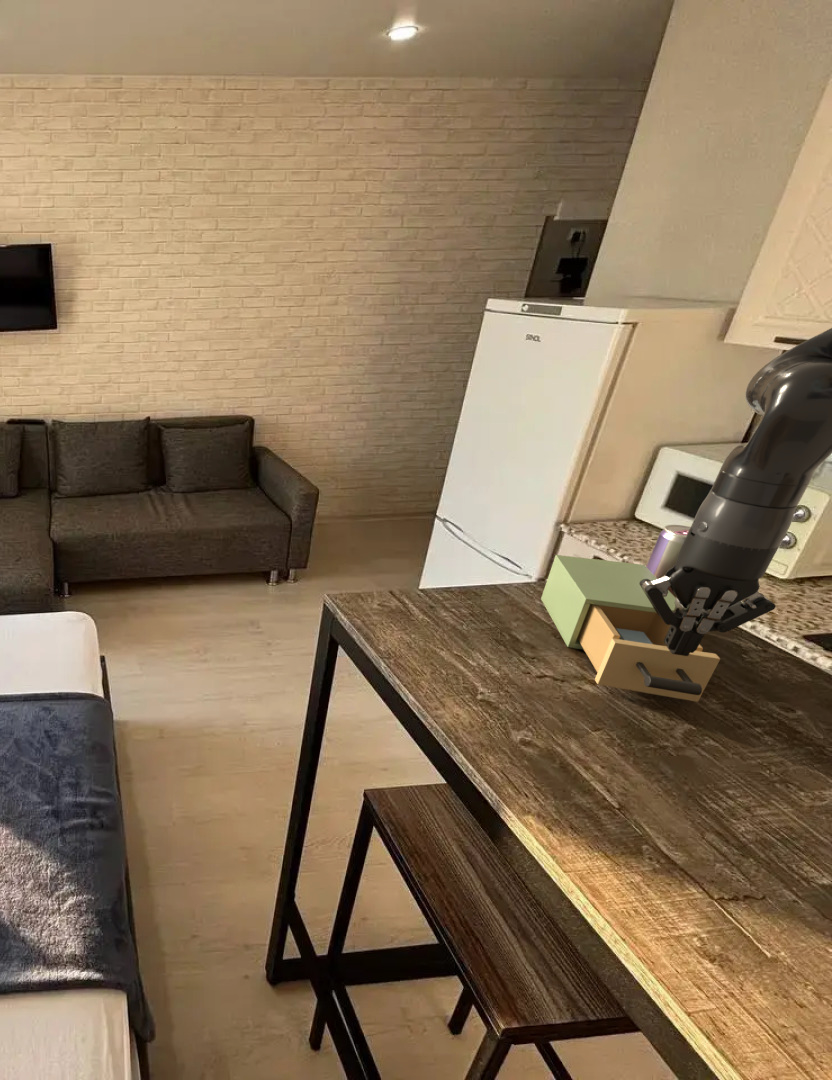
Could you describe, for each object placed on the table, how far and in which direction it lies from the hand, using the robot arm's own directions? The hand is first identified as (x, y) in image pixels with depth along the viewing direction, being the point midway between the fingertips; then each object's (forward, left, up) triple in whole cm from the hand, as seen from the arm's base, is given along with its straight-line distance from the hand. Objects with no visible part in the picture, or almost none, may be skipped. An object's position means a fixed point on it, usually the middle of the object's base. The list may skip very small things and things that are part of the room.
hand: (676, 651), depth 76 cm
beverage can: (-11, -30, -10) cm, 34 cm away
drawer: (0, -7, -8) cm, 11 cm away
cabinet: (0, -20, -9) cm, 22 cm away
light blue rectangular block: (0, -8, -7) cm, 11 cm away
